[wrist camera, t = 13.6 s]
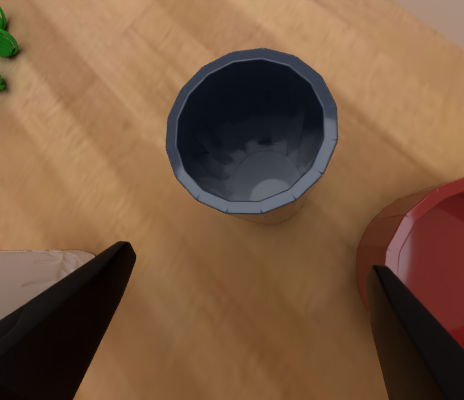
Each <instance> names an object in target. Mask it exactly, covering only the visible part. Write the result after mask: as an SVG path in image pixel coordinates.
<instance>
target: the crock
mask: <svg viewBox="0 0 464 400" xmlns="http://www.w3.org/2000/svg"><path fill="white" fill-rule="evenodd" d="M337 140H338V122H337V106H336V103H335V101H334V99H333V97H332V95H331V93H330V91H329V89H328V87H327V85H326V83H325V81H324V80H323V78H322V76H321V75H320V74H319V73H317V72H316V71H315V70H313V69H312V68H311V67H309V66H308V65H307V64H306V63H304V62H303V61H302V60H300V59H299V58H298V57H295V56H294V55H290V54H286V53H282V52H278V51H274V50H271V49H267V48H259V49H251V50H243V51H235V52H232V53H229V54H227V55H225V56H223V57H221V58H219V59H217V60H215V61H213V62H211V63H209V64H207V65H205V66H203V67H202V68H201V69H200V70H199V71H198V72H197V73H196V74H195V75H194V76H193V77H192V78H191V79H190V80H189V81H188V82H187V83H186V84H185V85H184V86H183V87H182V88H181V90H180V92H179V94H178V96H177V98H176V100H175V103H174V105H173V107H172V109H171V111H170V114H169V116H168V119H167V134H166V151H167V154H168V157H169V160H170V163H171V166H172V169H173V172H174V175H175V177H176V179H177V180H178V181H179V182H180V183H181V184H182V185H183V186H184V188H185V189H186V190H187V191H188V192H189V193H190V194H191V195H192V196H193V198H194V199H195V200H197V201H198V202H200V203H203V204H205V205H207V206H209V207H212V208H214V209H216V210H218V211H221V212H223V213H225V214H228V215H231V216H234V217H237V218H240V219H243V220H246V221H248V222H251V223H254V224H258V225H275V224H279V223H282V222H284V221H286V220H288V219H289V218H291V217H292V216H293V215H295V214H296V213H297V212H298V210H299V209H301V207H302V206H303V204H304V203H305V201H306V200H307V198H308V197H309V195H310V194H311V192H312V191H313V189H314V188H315V186H316V185H317V183H318V182H319V180H320V179H321V177H322V176H323V174H324V173H325V170H326V168H327V166H328V163H329V161H330V159H331V156H332V154H333V152H334V149H335V147H336V145H337Z"/></svg>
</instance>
